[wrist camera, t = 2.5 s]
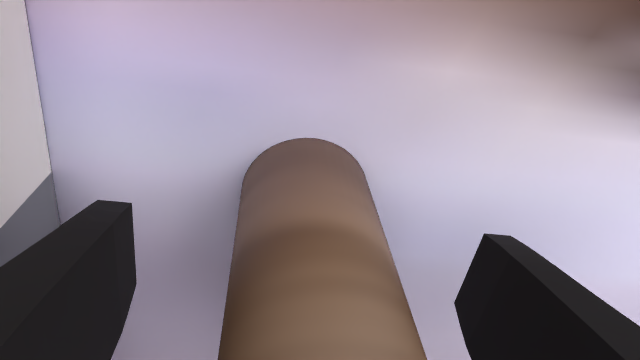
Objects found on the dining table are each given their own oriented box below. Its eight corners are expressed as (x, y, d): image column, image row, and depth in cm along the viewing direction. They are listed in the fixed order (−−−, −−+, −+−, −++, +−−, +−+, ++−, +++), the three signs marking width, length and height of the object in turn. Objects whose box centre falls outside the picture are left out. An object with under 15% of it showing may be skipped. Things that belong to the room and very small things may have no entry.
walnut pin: (353, 248, 12) (425, 565, 6) (237, 239, 12) (193, 573, 6) (379, 146, 11) (509, 435, 5) (247, 130, 10) (199, 433, 4)
